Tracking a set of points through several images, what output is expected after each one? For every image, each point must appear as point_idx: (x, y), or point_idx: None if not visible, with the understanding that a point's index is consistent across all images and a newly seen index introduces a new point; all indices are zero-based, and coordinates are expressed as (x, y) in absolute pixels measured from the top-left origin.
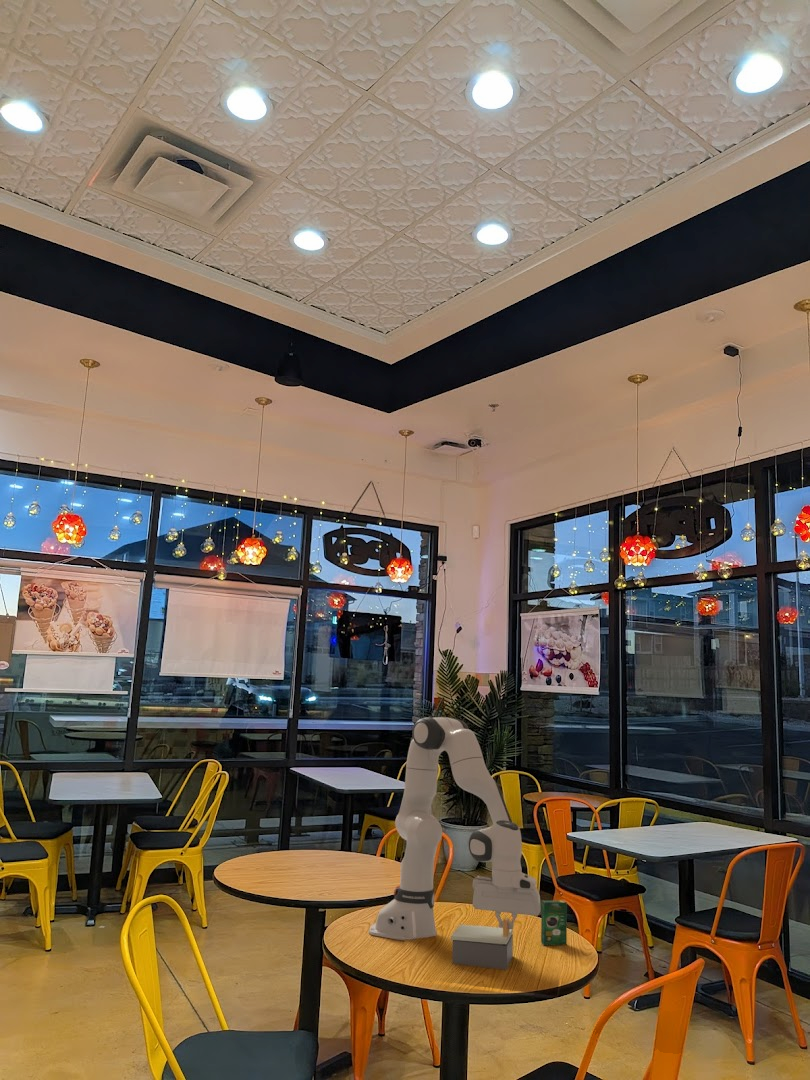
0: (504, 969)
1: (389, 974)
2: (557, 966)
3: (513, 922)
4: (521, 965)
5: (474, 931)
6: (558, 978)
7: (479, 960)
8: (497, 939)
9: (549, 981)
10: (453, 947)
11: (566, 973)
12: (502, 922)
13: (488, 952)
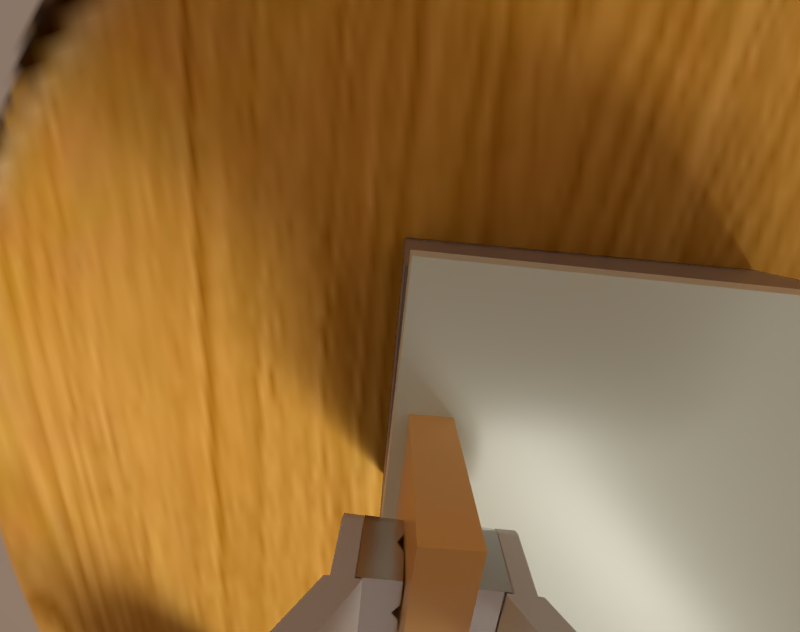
0: (422, 241)
1: None
2: (134, 419)
3: (315, 585)
4: (328, 388)
5: (739, 516)
6: (84, 216)
7: (607, 263)
8: (521, 282)
9: (125, 140)
10: None
11: (61, 319)
12: (483, 584)
13: None
